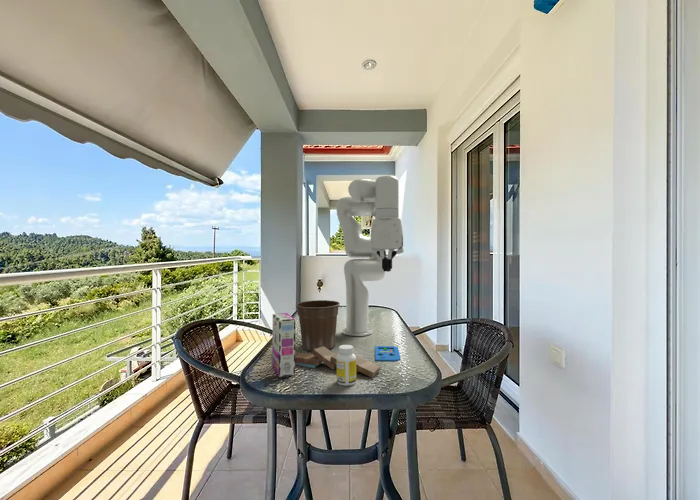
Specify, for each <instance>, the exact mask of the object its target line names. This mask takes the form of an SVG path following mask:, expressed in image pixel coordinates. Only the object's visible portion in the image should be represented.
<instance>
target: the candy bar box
mask: <svg viewBox="0 0 700 500" xmlns="http://www.w3.org/2000/svg"><path fill="white" fill-rule="evenodd" d="M271 344H272V352H271V353H272V355H271V356H272V359H271V360H272V367H273V368H274V371H275V372H276V375H277V376H278V378H286V377H293V376H296V365H295V355H296V318H294V317H293V316H292V315H290V314H289V313H288V312H283V313H281V312H280V313H273V314H272V343H271Z"/></svg>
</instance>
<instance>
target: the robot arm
mask: <svg viewBox="0 0 700 500" xmlns="http://www.w3.org/2000/svg"><path fill="white" fill-rule="evenodd" d="M347 188H348V189H347V191H348V194H349V196H344V197H341V198H339V199H338V200H337V202H336V216H337V219H338V222H339V224H340V226H341V230H342V235H343V244H344V250H345V251H344V252H345V254H346V256H347V257H349V258H352V259H349V260H347V261H346V262H344V265H343V274H344V279H345V293H346V294H345V296H346V297H345V298H346V299H345V300H346V301H345V302H346V303H345V305H346V307H345V308H346V310H345V311H346V312H345V314H346V315H345V317H346V318H345V319H346V321H345V322H346V324H345V325H346V327H345V328H343V329H342V334H344V335H346V336H349V337H364V336H365V337H366V336H369V335H371V334H372V333H373V329H372V328H371V327H369V324H370V323H371V321H370V320H369V291H368V288H367V286H366V285H364V283H363V282H374V281H375V282H376V281H377V282H378V281H381V280H383V279H384V277H385V272H391V271H392V269H393V259H394V257H396V256H397V255H400V254H403V253H404V248H403V247H404V235H403V234H404V233H403V232H404V231H403V225H402V219H401V218H400V217H399V215H400V214H399V211H400V210H399V204H400V203H399V198H400V197H399V195H400V194H399V179H398V178H397V177H396V176H394V175H382V176H378V177H377V178H376V179H369V178H358V179H354V180H353V181H351V182H350V183H349V185H348V187H347ZM371 216H372V217H374V218H373V219H372V222H371V228H370V229H371V230H370V236H366V235H365V236H364V235H363V230H362V226H361V224H360V223H359V222H358V221H357V220H356V219H355V218H354V217H371ZM387 252H388V253H387Z"/></svg>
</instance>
